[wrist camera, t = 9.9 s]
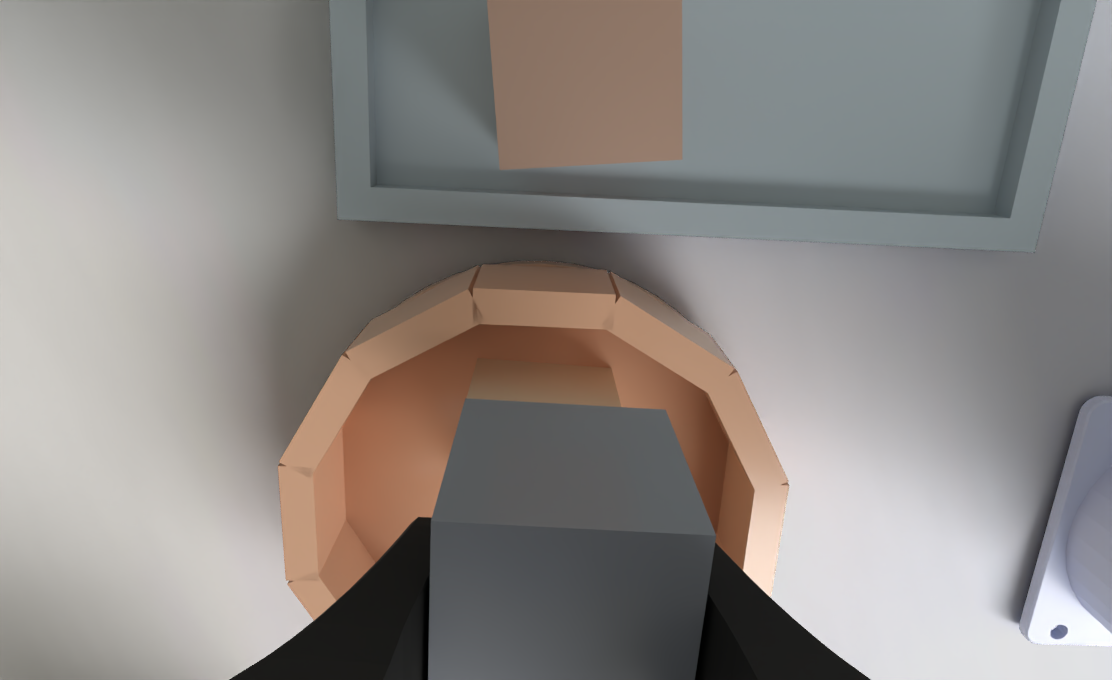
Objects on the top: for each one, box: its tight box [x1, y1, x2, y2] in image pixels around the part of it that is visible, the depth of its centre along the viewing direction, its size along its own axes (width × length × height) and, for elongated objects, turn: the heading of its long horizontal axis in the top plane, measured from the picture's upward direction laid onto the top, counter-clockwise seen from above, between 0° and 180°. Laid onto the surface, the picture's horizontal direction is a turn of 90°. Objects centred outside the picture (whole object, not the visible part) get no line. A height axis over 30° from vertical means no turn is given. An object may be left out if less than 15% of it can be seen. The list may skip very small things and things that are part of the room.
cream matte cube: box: [467, 358, 621, 407], centre depth 18 cm, size 4×4×4 cm
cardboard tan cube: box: [487, 0, 682, 170], centre depth 15 cm, size 4×4×4 cm
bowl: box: [278, 261, 789, 620], centre depth 19 cm, size 12×12×3 cm
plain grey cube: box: [428, 398, 716, 680], centre depth 11 cm, size 4×4×4 cm
